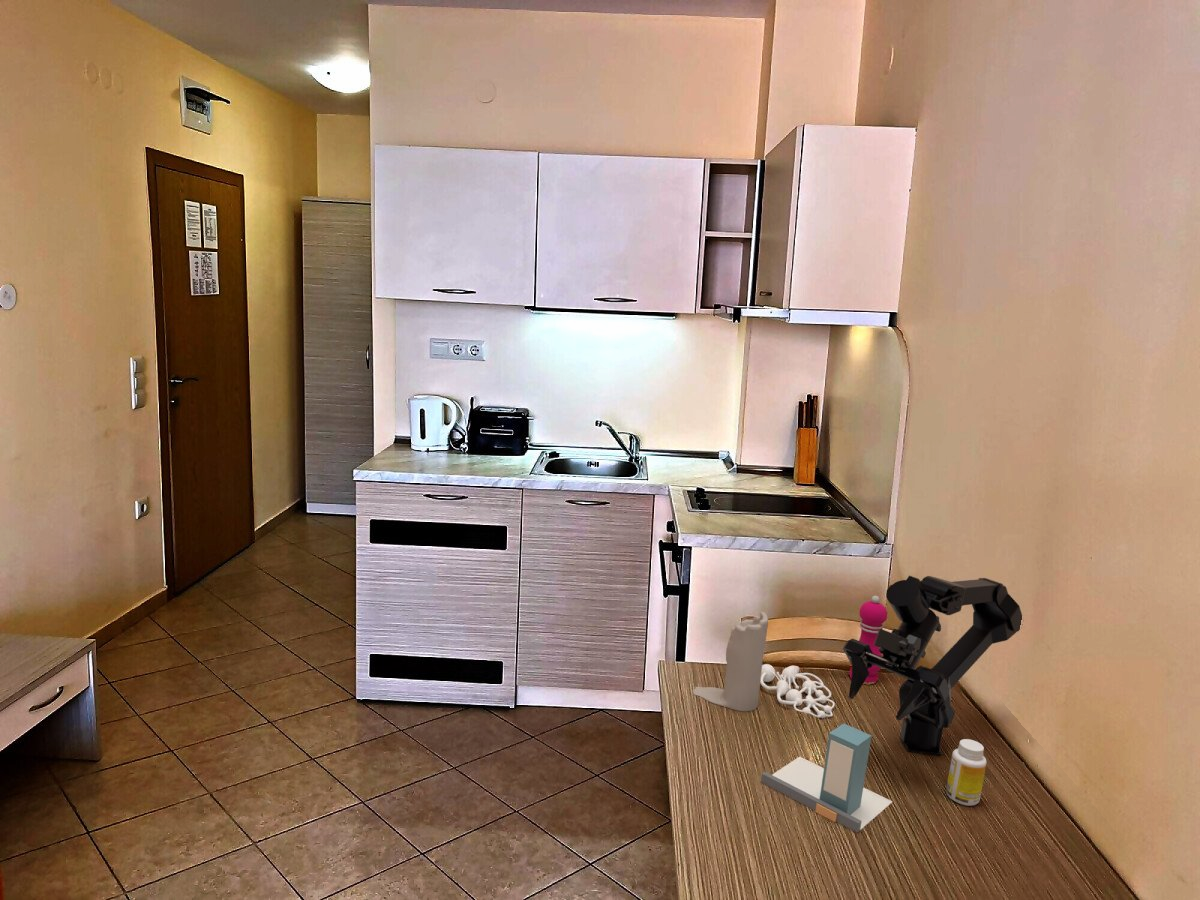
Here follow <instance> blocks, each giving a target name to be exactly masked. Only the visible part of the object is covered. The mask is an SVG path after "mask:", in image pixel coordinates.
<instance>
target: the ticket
mask: <svg viewBox="0 0 1200 900" xmlns="http://www.w3.org/2000/svg"><path fill="white" fill-rule="evenodd" d="M814 811H815V812H814V813H816V814H818V815H820V816H822V817H824V818H826V819H828V820H830V821H831V822H834V823H837V822H836V818H837V813H835V812H833V811H831V810H829V809H827V808H825V807H824V806H822V805H820V804H818V803H817V804H816V810H814Z"/></svg>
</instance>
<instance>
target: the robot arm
mask: <svg viewBox="0 0 1200 900" xmlns="http://www.w3.org/2000/svg"><path fill="white" fill-rule="evenodd" d="M885 595H886V600H887V602H888V603H889V604H890V606H891V609H892V610H893V612H894V613H895V616H896V617H897V618H898V620H899V621H900V624H899V625H898V628H893V630H891V632H890V631H888V630H885V629H883V630H882V629H879V632H878V634H877V637H876V640H875V643H874V645H875V646H878V647H879V651H880V653H881V654H882V657H881V656H879V655H876V654H874V653H873V652H872V650H871V648H870V646H869V645H868V644H866V643H863V642H860V641H859V639H855V638H850V639H848V640H847V641H846V642H845V644H844V645H843V647H842V650H843V652H844V654H845V655H846V657H847V660H848V661H849V663H850V662H851V663H850V665H851V664H852V665H851V667H852V678H850V686H849V691H848V698H849V699H850V700H854V698H855V697H856V696H857V694H858V693H859V692H860V690H861V688H862V686H863V685H864V684H863V683H864V681H865V680H866V678H867V676H868V675H869V671H868V668H871V667H872V665H875V666H878V667H880V668H881V669H883V670H885V671H888V672H890V673H893V674H895V675H897V676H899V677H903V678H905V679H906V680H905V681H903V682H902V683H901V685H900V687H899V690H898V696H899V707H900V708H899V709H898V710H897V714H896V715H895V718H896V720H897V721H899V722H900V721H901V720H902V724H901V725H902V726H901V732H900V738H901V740H902V741H901V742H903V744H904V746H905V748H906V750H907V751H908V752H912V753H919V754H925V755H935V756H943V752H942V750H941V744H942V743H941V742H942V737H943V732H944V729H948V728H950V725H951V724H952V723H953V721H954V718H955V716H956V712H955V710H954V709H953V707H952V706H951V704H952V688H954V686H955V685H956V684H957V683H958V682H959V681H960V680H961V678H963V676H964V675H965V674H966V673H967V672H968V671H969V670H970V669H971V668H972V667H973V665H974V664H975V663H976V662H977V661H978V660H979V659H980V658H981V656H983V654H984V653H985V652H986V651H987V650H988V649H989V648H990V647H991V646H992V645H994V644H997V643H1002V642H1005V641H1008V640H1010V639H1011V638H1012V637H1013V636H1014V635H1015V634H1016V633H1018V632H1019V631H1020V630H1021V629H1020V625H1021V620H1022V616H1023V614H1022V610H1021V607H1020V604H1018V602H1016V600H1015V599H1014V598H1013V597H1012V596H1011V595H1010V593H1009V592H1008V589H1007V586H1006V585H1004V584H1003V583H1001V582H998V581H995V580H992V579H990V578H987V577H983V578H982V577H979V578H978V579H969V580H968V579H967V580H955V581H950V580H945V579H943V578H939V577H935V576H932V575H927V576H924V577H923V578H922V580H920V578H917V577H916V576H915V577H914V576H913V575H908V577H907V578H906V579H903V580H898V581H895V582H894V583H893V584H890V585H889V586H888V587H887V589H886V594H885ZM963 606H972V608H973V612H972V625H971V627H969V628H968V630H967V631H966V632H965V633H964V634H963V635H962V636H961V637H960V638H959V639H958V640H956V642H955V643H954V644H953V645H952V647H950V648H949V650H948V651H947V652H946V653H945V654H944V655H943V656H942V657H941V658H940V659H939V660H938V661H937V662H936V663H935V664H934V665H933V667H931V668H929V667H926V666H923V665H919V666H918V663H919V662H920V659H921V658H922V659H924V658H925V657H926V655H927V652H926V651H925V650H926V649H927V646H928V645H929V643H930V640H931V639H932V638H933V635H934V633H935V631H936V632H941V630H942V624H941V623H940V617H939V616H938V615H936V613H935V611H936V612H938V613H941V614H943V615H946V616H952V615H954V614H956V613H959V612H961V611H962V607H963Z"/></svg>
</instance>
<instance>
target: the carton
mask: <svg viewBox="0 0 1200 900" xmlns="http://www.w3.org/2000/svg"><path fill="white" fill-rule="evenodd" d="M871 740H872V735H871V734H869V733H866V732H864V731H862V730H860V729H857V728H855V727H854V726H850V725H848V724H845V723H842V724H841V725H839V726H838V727H836V728H835V729H833V730H832V731H830V732H829V733H828V739H827V748H826V753H825V759H824V761H825V762H824V766H823V768H824V772H823V779H822V786H821V792H820V800H822V801H824V802H826V803H828V804H829V805H831V806H833V807H835V808H837V809H839V810H841V811H843V812H845V813H847V814H849V815H851V814H852V813H853V812H855V811H856V810H857V809H858V808H859V807H860V805H861V799H862V792H863V787H865V786H864V785H865V780H866V779H865V778H866V773H867V772H866V771H867V766H868V761H869V755H870V754H869V753H870V746H871Z"/></svg>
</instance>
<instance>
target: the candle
mask: <svg viewBox="0 0 1200 900" xmlns="http://www.w3.org/2000/svg"><path fill="white" fill-rule="evenodd" d="M768 625H769V617H768V615H767V614H766V612H765V611H761V612H760V614H759V616H758V615H754V617H753V619H745V620H742V621H741V622H740V623H739V624H737V625H735V626H734V627H733V628H732V629H731V632H730V636H729V638H728V642H727V646H726V651H725V661H726V669H725V670H726V671H725V677H724V678H725V679H724V685H723V688H719V687H713V686H707V687H706V686H705V687H704V686H703V687H702V686H695V687H694V689H693V690H692V693H693V694H694V695H695V696H697V697H701V698H702V699H703V700H705V701H707V702H709V703H712V704H714V705H718V706H722V707H724V708H727V709H732V710H734V711H737V712H738V711H739V712H751V711H754V710H756V709H757V708H758V702H759V696H760V687H761V683H760V681H761V671H762V665H763V662H764V661H763V660H764V653H765V648H766V643H767V634H768Z"/></svg>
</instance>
